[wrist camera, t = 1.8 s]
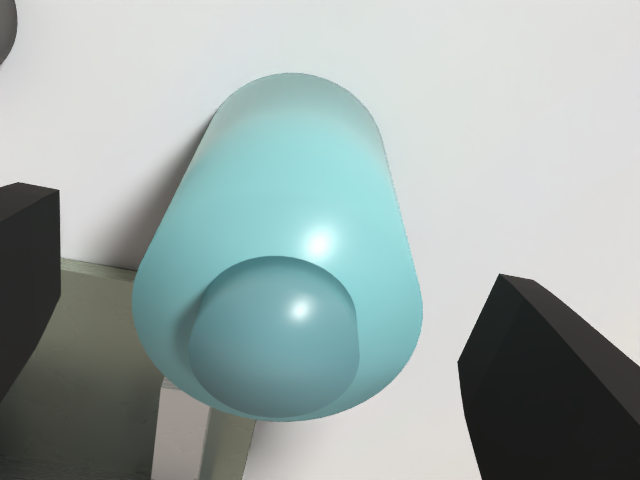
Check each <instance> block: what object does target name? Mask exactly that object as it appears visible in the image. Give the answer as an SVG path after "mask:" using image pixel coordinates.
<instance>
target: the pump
mask: <svg viewBox="0 0 640 480" xmlns="http://www.w3.org/2000/svg"><path fill="white" fill-rule="evenodd" d="M132 314H133V319H134V325H135V328H136V331H137V334H138V337H139V340H140V342H141V344H142V346H143V348H144V349H145V351H146V353H147V355H148V356H149V358H150V359H151V360H152V362H153V363H154V365H155V366H156V367H157V368H158V369H159V370H160V372H161V373H162V374H163V375H164V376H165V377H166V378H167V379H168V380H169V381H171V382H172V383H173V384H174V385H175V386H177V387H178V388H179V389H180V390H182V391H183V392H185V393H186V394H188V395H189V396H191V397H192V398H194V399H196V400H198V401H200V402H202V403H204V404H206V405H208V406H210V407H213V408H215V409H217V410H220V411H222V412H226V413H229V414H232V415H236V416H239V417H244V418H249V419H254V420H263V421H277V422H291V421H304V420H311V419H316V418H322V417H326V416H329V415H333V414H337V413H339V412H342V411H345V410H347V409H350V408H352V407H354V406H356V405H358V404H360V403H362V402H364V401H366V400H368V399H369V398H371V397H372V396H374V395H375V394H377V393H379V392H380V391H381V390H382V389H383V388H385V387H386V386H387V385H388V384H389V383H391V382H392V380H393V379H394V378H395V377H396V376H397V375H398V374H399V373H400V372H401V371H402V369H403V368H404V366H405V365H406V363H407V362H408V361H409V359H410V357H411V355H412V353H413V351H414V349H415V347H416V345H417V341H418V338H419V335H420V332H421V325H422V319H423V306H422V297H421V292H420V287H419V283H418V279H417V275H416V271H415V267H414V263H413V259H412V255H411V251H410V247H409V243H408V240H407V236H406V232H405V228H404V224H403V220H402V216H401V212H400V208H399V204H398V200H397V196H396V192H395V188H394V184H393V181H392V177H391V173H390V169H389V165H388V161H387V157H386V153H385V149H384V145H383V141H382V138H381V135H380V132H379V129H378V127H377V125H376V123H375V121H374V119H373V117H372V116H371V114H370V113H369V111H368V110H367V108H366V107H365V106H364V105H363V104H362V103H361V102H360V101H359V100H358V99H357V98H356V97H355V96H354V95H352V94H351V93H350V92H349V91H347V90H346V89H344V88H343V87H341V86H339V85H338V84H336V83H333V82H331V81H329V80H327V79H324V78H321V77H317V76H314V75H308V74H302V73H283V74H274V75H270V76H266V77H262V78H260V79H257V80H255V81H252V82H250V83H248V84H246V85H245V86H243V87H241V88H240V89H238V90H237V91H236V92H234V93H233V94H232V95H230V96H229V97H228V98H227V99H226V100H225V102H224V103H223V104H222V105H221V106H220V107H219V109H218V110H217V112H216V113H215V115H214V116H213V118H212V120H211V122H210V124H209V126H208V128H207V130H206V132H205V134H204V136H203V138H202V140H201V142H200V144H199V146H198V148H197V150H196V152H195V154H194V156H193V158H192V160H191V162H190V164H189V166H188V168H187V170H186V173H185V175H184V177H183V179H182V181H181V183H180V185H179V187H178V189H177V191H176V193H175V195H174V197H173V199H172V201H171V203H170V205H169V207H168V209H167V211H166V213H165V215H164V217H163V219H162V221H161V223H160V225H159V227H158V229H157V231H156V233H155V235H154V237H153V239H152V241H151V243H150V245H149V247H148V249H147V251H146V253H145V255H144V257H143V259H142V261H141V263H140V265H139V268H138V271H137V274H136V277H135V280H134V285H133V292H132Z"/></svg>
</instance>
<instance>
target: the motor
mask: <svg viewBox="0 0 640 480" xmlns="http://www.w3.org/2000/svg"><path fill="white" fill-rule="evenodd" d="M136 274H137V271H131V270H126V269H120V268H115V267H109V266H104V265H98V264H92V263H87V262H81V261H76V260H70V259H65V258H61V296H60V299H59V301H58V303H57V305H56V307H55V310H54V312H53V314H52V316H51V318H50V321H49V323H48V325H47V327H46V329H45V331H44V333H43V335H42V337H41V339H40V341H39V343H38V345H37V347H36V349H35V351H34V352H33V354H32V355H31V357H30V358H29V360H28V362H27V363H26V365H25V366H24V368H23V369H22V371H21V372H20V374H19V375H18V377H17V379H16V380H15V382H14V383H13V385H12V386H11V388H10V389H9V391H8V392H7V394H6V395H5V397H4V398H3V400H2V401H1V403H0V480H242V476H243V472H244V468H245V463H246V459H247V455H248V451H249V447H250V442H251V438H252V434H253V430H254V426H255V422H256V420H254V419H249V418H244V417H239V416H236V415H232V414H229V413H226V412H222V411H220V410H217V409H215V408H213V407H210V406H208V405H206V404H204V403H202V402H200V401H198V400H196V399H194V398H192V397H191V396H189V395H188V394H186V393H185V392H183V391H182V390H180V389H179V388H178V387H177V386H175V385H174V384H173V383H172V382H171V381H169V380H168V379H167V378H166V377H165V376H164V375H163V374H162V373H161V372H160V370H159V369H158V368H157V367H156V366H155V365H154V363H153V362H152V360H151V359H150V358H149V356H148V355H147V353H146V351H145V349H144V348H143V346H142V344H141V342H140V340H139V337H138V334H137V331H136V328H135V325H134V319H133V314H132V292H133V285H134V280H135V277H136Z"/></svg>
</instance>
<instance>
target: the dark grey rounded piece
mask: <svg viewBox="0 0 640 480" xmlns="http://www.w3.org/2000/svg"><path fill="white" fill-rule="evenodd" d="M16 33H17V11H16V4H15V1H14V0H0V64H1V63H2V62H3V61H4V60H5V59H6V57H7V56H8V54H9V53H10V51H11V49H12V47H13V44H14V41H15V38H16Z"/></svg>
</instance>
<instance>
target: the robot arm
mask: <svg viewBox="0 0 640 480" xmlns="http://www.w3.org/2000/svg"><path fill="white" fill-rule="evenodd" d="M60 296H61V257H60V197H59V190H57V189H52V188H46V187H41V186H36V185H31V184H25V183H20V182H17V183H14V184H10V185H6V186H3V187H0V403H1V401H2V400H3V398H4V397H5V395H6V394H7V392H8V391H9V389H10V388H11V386H12V385H13V383H14V382H15V380H16V379H17V377H18V375H19V374H20V372H21V371H22V369H23V368H24V366H25V365H26V363H27V362H28V360H29V358H30V357H31V355H32V354H33V352H34V351H35V349H36V347H37V345H38V343H39V341H40V339H41V337H42V335H43V333H44V331H45V329H46V327H47V325H48V323H49V321H50V318H51V316H52V314H53V312H54V310H55V307H56V305H57V303H58V301H59V299H60ZM458 371H459V380H460V388H461V396H462V402H463V409H464V416H465V419H466V423H467V427H468V431H469V435H470V438H471V442H472V446H473V449H474V453H475V457H476V460H477V464H478V467H479V471H480V474H481V478H482V480H640V367H639V366H638V365H637V364H636V363H635V362H633V361H632V360H631V359H630V358H629V357H627V356H626V355H625V354H624V353H623V352H621V351H620V350H619V349H618V348H617V347H616V346H614V345H613V344H612V343H611V342H610V341H608V340H607V339H606V338H605V337H604V336H603V335H601V334H600V333H599V332H598V331H597V330H596V329H594V328H593V327H592V326H591V325H590V324H588V323H587V322H586V321H585V320H584V319H583V318H581V317H580V316H579V315H578V314H577V313H576V312H574V311H573V310H572V309H571V308H570V307H568V306H567V305H566V304H565V303H563V302H562V301H561V300H560V299H559V298H557V297H556V296H555V295H553V294H552V293H551V292H550V291H548V290H547V289H546V288H544V287H543V286H541V285H540V284H538V283H537V282H535V281H534V280H530V279H525V278H520V277H515V276H509V275H504V274H499V275H498V277H497V279H496V282H495V284H494V286H493V288H492V290H491V292H490V294H489V296H488V298H487V301H486V303H485V305H484V307H483V309H482V311H481V313H480V315H479V318H478V320H477V322H476V324H475V326H474V328H473V330H472V332H471V335H470V337H469V339H468V341H467V343H466V345H465V347H464V349H463V352H462V354H461V356H460V358H459V360H458Z"/></svg>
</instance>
